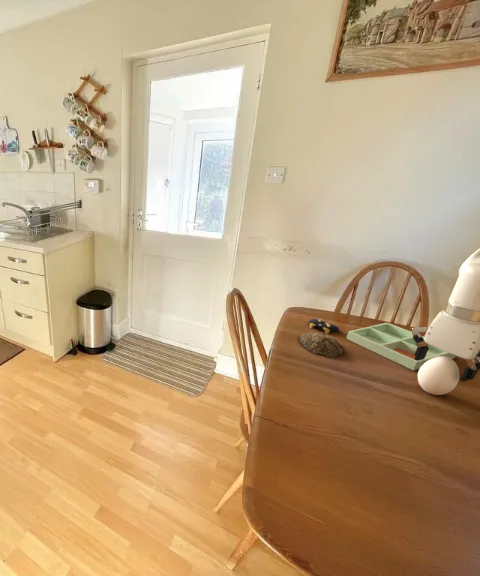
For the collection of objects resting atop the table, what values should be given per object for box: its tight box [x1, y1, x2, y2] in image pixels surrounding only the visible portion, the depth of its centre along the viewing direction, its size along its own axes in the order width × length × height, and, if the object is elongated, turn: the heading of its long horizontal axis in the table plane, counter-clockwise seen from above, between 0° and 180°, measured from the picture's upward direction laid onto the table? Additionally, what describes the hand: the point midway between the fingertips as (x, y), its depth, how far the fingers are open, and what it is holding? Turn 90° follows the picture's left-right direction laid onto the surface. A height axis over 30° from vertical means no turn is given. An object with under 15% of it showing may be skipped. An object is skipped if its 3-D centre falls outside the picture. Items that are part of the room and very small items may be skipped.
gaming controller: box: [308, 318, 340, 334], centre depth 122 cm, size 10×5×6 cm
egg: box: [417, 356, 460, 396], centre depth 85 cm, size 7×7×12 cm
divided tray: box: [345, 322, 457, 371], centre depth 108 cm, size 20×20×4 cm
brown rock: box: [299, 332, 343, 358], centre depth 109 cm, size 13×12×5 cm
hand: (440, 369), depth 85 cm, fingers open, 9 cm apart
